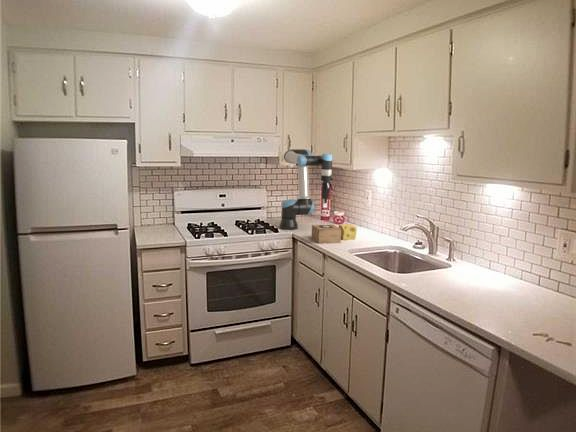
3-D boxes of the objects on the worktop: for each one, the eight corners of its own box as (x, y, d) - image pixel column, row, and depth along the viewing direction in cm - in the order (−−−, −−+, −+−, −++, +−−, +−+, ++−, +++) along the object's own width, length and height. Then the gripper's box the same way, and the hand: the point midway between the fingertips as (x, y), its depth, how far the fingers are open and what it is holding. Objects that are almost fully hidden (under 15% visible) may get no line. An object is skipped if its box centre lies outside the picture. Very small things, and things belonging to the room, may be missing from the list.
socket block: (311, 238, 311) (311, 224, 310) (332, 237, 315) (332, 223, 313) (318, 243, 294) (319, 229, 292) (340, 243, 298) (341, 228, 296)
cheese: (343, 240, 307) (343, 226, 305) (337, 237, 317) (337, 224, 315) (356, 239, 310) (356, 226, 308) (350, 236, 320) (350, 223, 318)
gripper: (318, 174, 312) (317, 205, 316) (324, 176, 299) (322, 208, 304) (328, 174, 314) (327, 205, 318) (334, 176, 301) (332, 208, 306)
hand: (324, 207), depth 311 cm, fingers closed
